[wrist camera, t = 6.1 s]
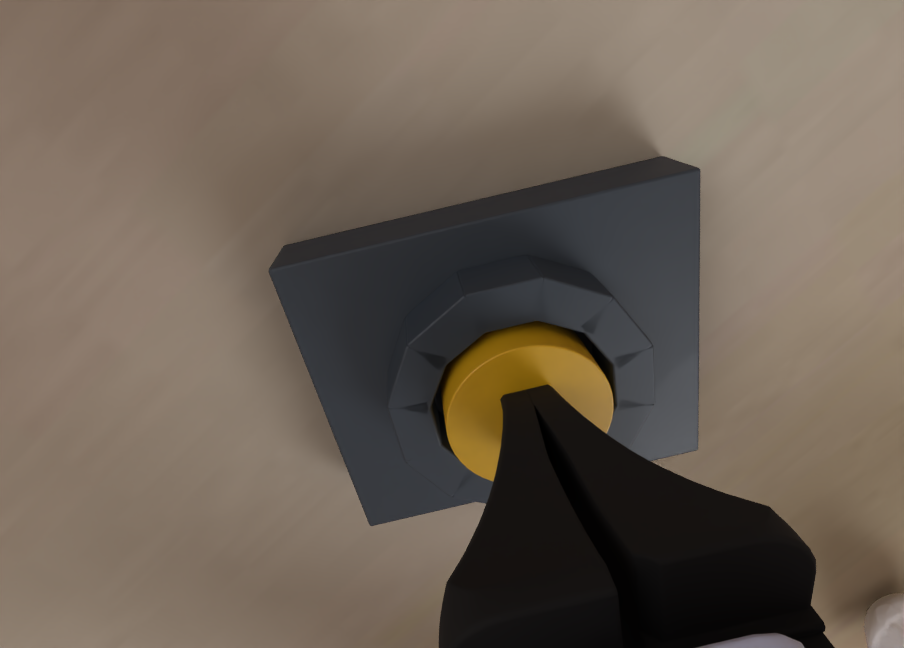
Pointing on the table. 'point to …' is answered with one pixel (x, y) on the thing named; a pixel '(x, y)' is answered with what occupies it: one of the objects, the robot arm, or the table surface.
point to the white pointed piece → (885, 622)
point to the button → (516, 386)
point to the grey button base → (499, 318)
